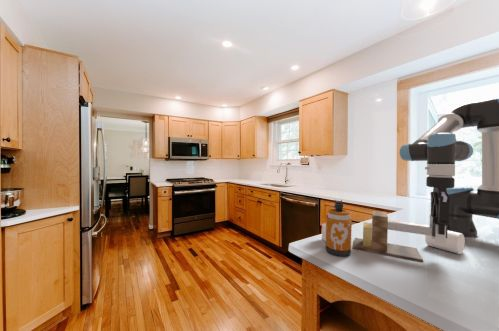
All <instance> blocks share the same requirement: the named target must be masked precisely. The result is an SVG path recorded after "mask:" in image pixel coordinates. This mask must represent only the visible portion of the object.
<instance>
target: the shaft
mask: <svg viewBox="0 0 499 331" xmlns="http://www.w3.org/2000/svg"><path fill="white" fill-rule="evenodd" d="M434 222H435V223H436V222H437V219H436V215H431V214H429V224H420V223H415V222H414V223H413V222H405V221H397V220H389V219H388V231H389V230H390V231H395V232H403V233H411V234H416V235H424V236H425V235H430V236H434V237H435V224H434ZM447 226H448V225H446V238H447Z"/></svg>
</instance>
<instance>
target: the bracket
mask: <svg viewBox="0 0 499 331" xmlns="http://www.w3.org/2000/svg"><path fill="white" fill-rule="evenodd" d="M371 213H372V214H371V220H372V221H371V223H372V247H371V248H368V247H363V238H359V237H355V238H354V241H353V248H352V249H354V250H357V251H359V250H360V251H366V252H369V253H373V254H375V253H376V254H379V255H384V256H390V257H395V258H401V259H404V260H405V259H406V260H410V259H411V260H410V261H415V260H417V261H416V262H420V261H423V262H424V259H423V257H422V255H421V252H419V250H418V248H417V247H413V246H406V245H399V244H394V243H389V242H388V231H389V230H388V220H389V217H388V213H387V212H386V211H376V210H375V211H374V210H372V211H371Z"/></svg>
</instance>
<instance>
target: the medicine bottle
mask: <svg viewBox="0 0 499 331" xmlns="http://www.w3.org/2000/svg"><path fill="white" fill-rule="evenodd" d="M327 217H328V213H327V214H326V218H327ZM321 240H322V241H325V242H326V222H325V223H322V224H321Z"/></svg>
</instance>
